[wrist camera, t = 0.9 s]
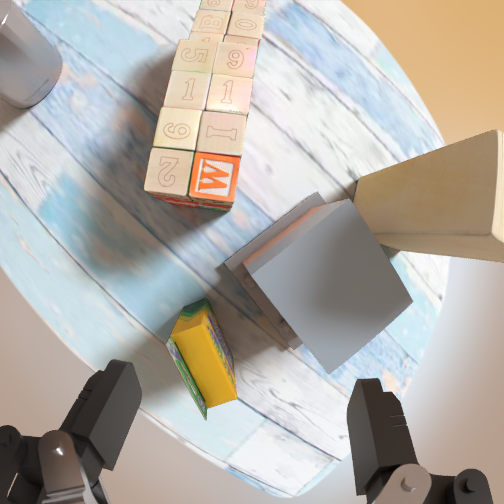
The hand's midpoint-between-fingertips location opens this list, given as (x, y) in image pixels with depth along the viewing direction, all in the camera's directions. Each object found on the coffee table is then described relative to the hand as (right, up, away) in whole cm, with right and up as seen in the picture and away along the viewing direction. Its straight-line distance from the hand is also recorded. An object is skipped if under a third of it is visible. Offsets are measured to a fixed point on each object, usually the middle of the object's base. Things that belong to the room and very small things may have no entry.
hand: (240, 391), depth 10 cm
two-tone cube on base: (+6, +3, +23) cm, 24 cm away
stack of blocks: (-3, +20, +22) cm, 29 cm away
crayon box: (-4, -4, +23) cm, 24 cm away
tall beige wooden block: (+15, +9, +24) cm, 30 cm away
